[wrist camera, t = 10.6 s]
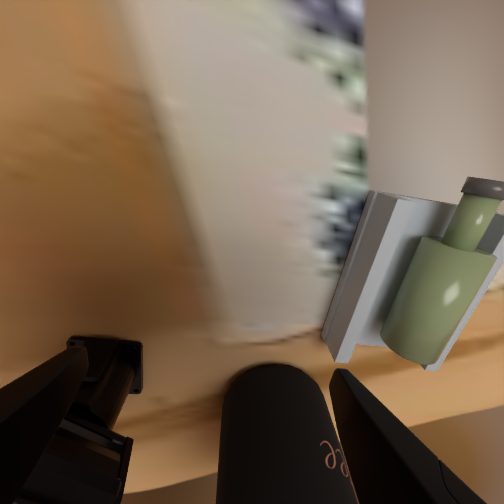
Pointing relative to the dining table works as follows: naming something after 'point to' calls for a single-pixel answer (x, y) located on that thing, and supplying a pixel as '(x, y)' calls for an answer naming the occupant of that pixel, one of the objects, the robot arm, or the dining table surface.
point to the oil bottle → (443, 277)
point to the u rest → (392, 268)
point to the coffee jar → (280, 442)
